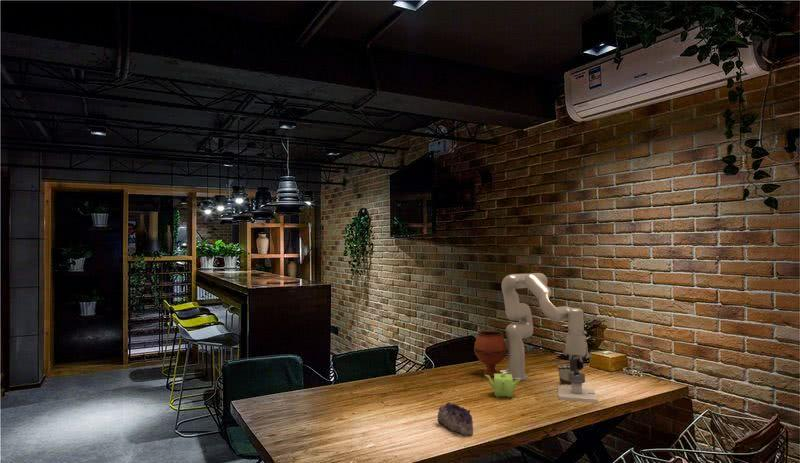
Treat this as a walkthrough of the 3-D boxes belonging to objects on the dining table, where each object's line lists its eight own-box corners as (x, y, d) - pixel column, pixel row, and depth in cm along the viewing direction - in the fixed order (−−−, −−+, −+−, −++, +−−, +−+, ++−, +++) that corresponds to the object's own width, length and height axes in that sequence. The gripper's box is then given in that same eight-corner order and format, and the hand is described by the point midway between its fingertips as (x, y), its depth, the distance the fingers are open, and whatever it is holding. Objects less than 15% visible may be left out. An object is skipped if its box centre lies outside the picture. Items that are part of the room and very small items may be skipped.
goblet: (468, 372, 280) (467, 331, 280) (494, 368, 288) (493, 328, 289) (486, 380, 262) (486, 336, 263) (514, 376, 270) (513, 333, 271)
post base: (558, 399, 230) (558, 385, 230) (557, 388, 247) (557, 375, 247) (597, 402, 224) (597, 388, 224) (594, 391, 241) (593, 378, 241)
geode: (484, 433, 189) (482, 409, 188) (461, 442, 184) (459, 418, 183) (456, 415, 207) (453, 393, 206) (434, 423, 202) (432, 401, 201)
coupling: (581, 384, 230) (580, 360, 230) (565, 381, 236) (565, 358, 236) (588, 380, 237) (588, 357, 237) (573, 377, 242) (573, 354, 243)
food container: (577, 382, 259) (577, 364, 259) (580, 385, 253) (580, 366, 253) (555, 381, 260) (554, 363, 260) (557, 384, 254) (557, 366, 254)
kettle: (504, 402, 226) (503, 379, 226) (483, 394, 238) (482, 372, 238) (524, 396, 235) (523, 374, 235) (502, 389, 246) (502, 368, 247)
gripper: (594, 333, 235) (595, 369, 234) (562, 329, 245) (562, 364, 244) (590, 335, 229) (591, 372, 228) (557, 332, 239) (558, 367, 238)
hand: (576, 368), depth 236 cm, fingers closed on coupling, 3 cm apart
